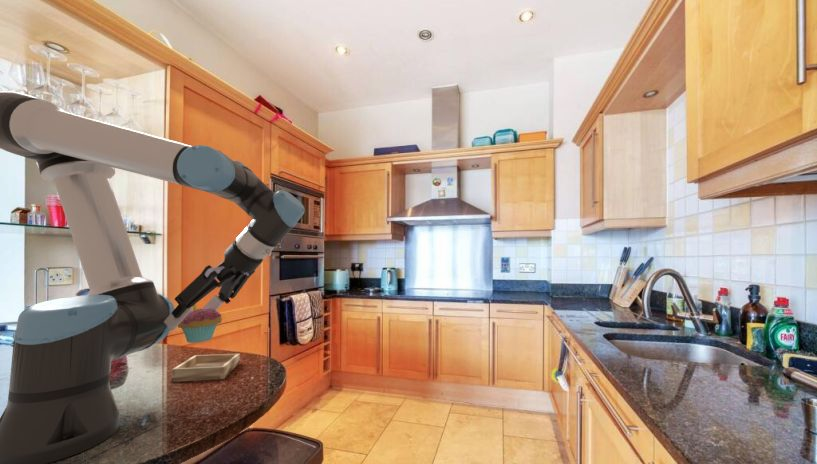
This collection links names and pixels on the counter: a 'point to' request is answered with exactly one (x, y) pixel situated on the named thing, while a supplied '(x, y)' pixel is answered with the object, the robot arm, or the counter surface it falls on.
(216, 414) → the counter surface
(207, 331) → the cupcake
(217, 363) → the maple box
